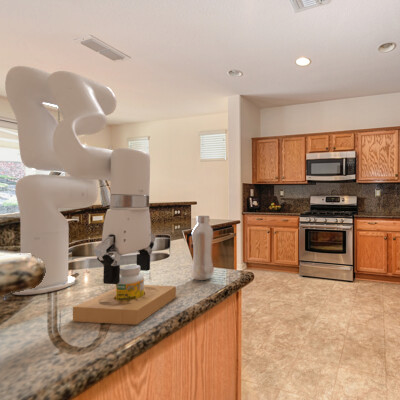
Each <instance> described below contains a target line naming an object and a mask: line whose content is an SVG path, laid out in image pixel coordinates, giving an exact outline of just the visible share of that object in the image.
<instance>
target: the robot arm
mask: <svg viewBox="0 0 400 400" xmlns="http://www.w3.org/2000/svg"><path fill="white" fill-rule="evenodd" d="M4 85H5V86H4V88H5V94H6V98H7V101H8V103H9V105H10V108H11V110H12V112H13V114H14V117H15V121H16V124H17V125H16V127H17V138H18V147H19V156H20V159H21V162H22V164H23V165H24V166H25V167H26V168H27V169H30V170H34V171H35V170H36V171H43V172H53V173H65V174H67V175H56V174H44V173H43V174H42V173H41V174H38V173H36V174H29V175H25V176H23V177H20V179H18V181H16V184H15V187H14V189H15V190H14V192H15V196H16V201H17V206H18V210H19V220H20V221H19V222H20V254H21V253H31V254H32V255H34V256H36V257H38V258H39V259H41V260H42V261H43V262H44V264H45V268H46V273H45V276H44V278H43V280H42V282H41V283H40V284H39V285H38V286H36V287H35V288H32V289H27V290H24V291H20V292H15V293H12V295H16V296H31V295H40V294H45V293H52V292H55V291H60V290H62V289H65V288H68V287H71V286H73V285H74V284H76V277H75V276H71V275H70V276H69V249H70V248H69V246H70V245H69V243H70V240H69V239H70V237H69V236H70V235H69V234H70V233H69V232H70V229H69V227H70V226H69V222H68V220H67V218H66V217H65V216H64V215H63V214H62V213H61V212H60V209H83V208H89V207H92V206H94V204H96V202H97V199H98V195H99V193H98V192H99V189H98V181H106V182H110V183H109V185H110V189H109V208H108V209H107V210H106V212H105V215H104V219H103V226H102V235H101V242H100V243H98V244H97V245H96V246H95V247H94V248H93V251H94V253H95V255H96V259H97V261H98V262H100V265H101V266H103V279H102V282H103V284H105V285H116V284H118V283H119V282H120V276H121V275H120V268H121V265H120V264H119V262H120V260H121V258H122V257H123V256H124V255H128V254H132V253H135V252H138V253H137V254H136V265H139V266H140V271H141V272H142V271H145V272H148V271H150V270H151V255H152V253H153V250H152V249H153V248H154V246H155V241H156V237H157V236H156V234H155V233H153V232H152V222H151V221H152V220H151V213H150V187H151V186H150V181H151V180H150V178H151V156H150V154H149V152H147V151H145V150H143V149H138V148H131V147H117V148H114V149H110V148H105V147H98V146H93V145H87V144H83V143H82V142H81V140H80V139H79V138H80V137H85V136H90V135H95V134H97V133H100V132H101V131H103V130H104V129H105V128H106V127H107V123H108V119H107V116H109V115H112V114H113V113H114V112H115V110H116V108H117V103H118V101H117V97H116V95H115V93H114V91H113V90H112V89H111V88H110V87H108V86H107V85H105V84H103V83H102V82H101V83H100V82H98V81H95V80H92V79H91V78H87V77H85V76H82V75H80V74H77V73H74V72H71V71H68V70H67V71H65V70H57V71H54V72H52V73H50V72H47V71H45V70H42V69H38V68H35V67H30V66H26V65H17V66H13V67H11V68H10V69H9V70H8V71H7V73H6V76H5V82H4ZM44 104H45V105H49V106H52V107H55V108H56V107H57V109H58V111H59V113H60V115H61V117H62V120H61V121H60V122H59V121H58V120H57V118H56V117H55V116H54V114H52V112H51V111H50V110H49V109H48V108H47V107H46V106H45V105H44ZM68 175H69V176H68ZM112 257H113V258H112Z"/></svg>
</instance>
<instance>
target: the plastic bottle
mask: <svg viewBox="0 0 400 400" xmlns="http://www.w3.org/2000/svg"><path fill="white" fill-rule="evenodd" d="M210 221H211V220H210V215H196V221H195V222H196V225H195V226H194V227H193V229H192V231H191V239H192V248H193V259H192V266H191V277H192V278H193V280H197V281H205V280H209V279H211V278H213V275H214V271H215V269H214V263H213V254H212V253H213V242H214V241H213V240H214V233H215V232H214V229H213V227H212V226H211V225H210Z"/></svg>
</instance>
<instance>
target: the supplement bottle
mask: <svg viewBox="0 0 400 400" xmlns="http://www.w3.org/2000/svg"><path fill="white" fill-rule="evenodd" d="M144 285H145V276H144V275H143V274H142V273H141V270H140V266H139V265H137V264H129V265H124V266H120V282H119V283H118V284H115V288H116V300H117V301H126V300H132V299H136V298H139V297H142V296H143V295H144Z"/></svg>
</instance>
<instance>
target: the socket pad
mask: <svg viewBox="0 0 400 400" xmlns="http://www.w3.org/2000/svg"><path fill="white" fill-rule="evenodd" d="M176 294H177V286H176V285H156V284H155V285H154V284H144V295H143V296H142V297H139V298H136V299H132V300H126V301H117V300H116V287H115V288H113V289H110V290H108V291H106V292H103V293H102V294H99V295H97V296H95V297H93V298H90V299H87V300H85V301H83V302H81V303H79V304H76V305H74V306H72V322H80V323H82V322H83V323H96V324H97V323H98V324H113V325H114V324H116V325H135V326H137V325H138V324H140V323H141V322H143V321H144V320H146V319H147V318H148V317H151V315H154V313H156V312H157V311H158V310H160V309H161V308H163V307H164V306H166V305H167V304H169V303H170V302H172V301H173V300H175V299H176V298H177V295H176Z"/></svg>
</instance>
